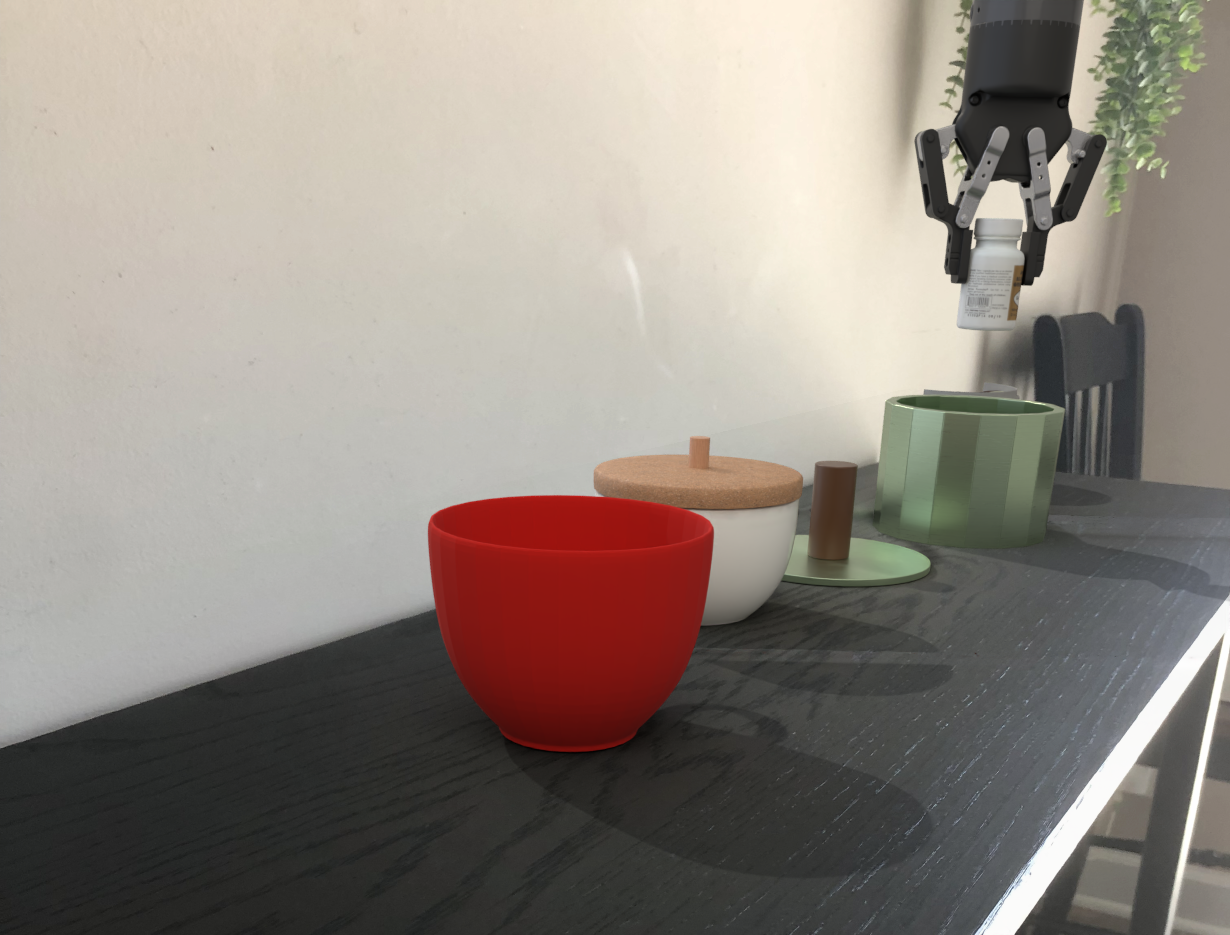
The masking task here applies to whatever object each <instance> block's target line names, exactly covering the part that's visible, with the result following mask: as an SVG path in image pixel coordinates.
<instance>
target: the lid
mask: <svg viewBox="0 0 1230 935" xmlns="http://www.w3.org/2000/svg"><path fill="white" fill-rule="evenodd" d="M858 470H859V464H857V463H855V462H851V461H843V460H820V461H816V462H815V463H814V470H813V481H812V482H813V483H812V492H811V493H812V494H811V495H812V496H811V504H810V505H811V506H810V518H809V528H808V534H796V535H795V540H794V545H793V549H792V554H791V557H790V560H789V563H788V566H787V569H786V572H785V574H784V576H783V578H782V580H781V582H788V583H796V584H803V585H814V586H825V587H844V588H845V587H851V588H853V587H855V588H857V587H858V588H861V587H881V586H892V585H900V584H906V583H910V582H914V581H917V580H920V579H922V578H924V577H926V576H927V575H928V574H929V573H930V571H931V567H932V566H931V565H932V563H931V560H930V559H929V558H928V557H927V556H926V555H925V554H922V553H921V552H919V551H916V550H914V549H912V548H908V547H905V546H903V545H898V544H894V543H890V542H884V541H881V540H880V541H879V540H873V539H867V538H860V537H859V538H858V537H852V531H853V530H852V529H853V520H854V509H855V500H856V499H855V498H856V488H857V479H858Z"/></svg>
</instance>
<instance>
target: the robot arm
mask: <svg viewBox="0 0 1230 935" xmlns="http://www.w3.org/2000/svg"><path fill="white" fill-rule="evenodd" d="M1084 2H1085V0H972V2H971V5H970V9H969V22H970V24H969V33H968V41H967V48H966V58H965V67H964V75H963V84H962V93H961V94H962V95H961V103H960V107H959V109H958V112H957V114H956V115H955V117H954V118H953V121H952V123H951V124H950V125H946V126H944V127H939V128H935V129H934V128H928V129H924V130H921V131H919V132H918V133H917V134H916V135H915V137H914V142H913V143H914V149H915V154H916V155H915V156H916V161H917V166H918V167H917V168H918V173H919V174H918V175H919V180H920V186H921V193H922V199H923V207H924V213H925V215H926V216H927V217H928V218H930V219H933V220H936V221H938V222H940V223H943V225H944V226H946V229H947V237H946V247H945V256H944V264H943V269H944V273H945V275H948V276H949V275H950V283H951V284H956V285H957V284H958V285H961V284H965V283H966V282H967V277H968V269H969V261H970V252H971V249H972V243H973V237H974V229H970V228H971V225H972V222H973V220H974V217H975V216H976V213H977V211H978V208H979V205H980V203H981V201H982V199H983V197H984V196H985V194H986V192H987V190H988V188H989V185H990V183H991V182H992V183H993V182H999V181H1005V182H1009V183H1013V184H1014V183H1017V185H1018V190H1019V195H1020V196H1019V197H1020V198H1021V200H1022V202H1023V209H1024V216H1025V217H1024V218H1025V223H1026V231H1022V235H1021V240H1020V247H1019V250H1020V251H1022V252H1023V254H1024V257H1025V260H1024V269H1023V276H1022V282H1021V287H1022V286H1023V287H1024V286H1025V287H1028V286H1029V287H1032V286H1033V284H1034V282H1035V278H1041V275H1042V273H1043V271H1044V267H1045V260H1046V259H1045V258H1046V252H1047V245H1048V238H1049V234H1050V231H1051V230H1052V229H1053V228H1054V227H1056V226H1059V225H1062V224H1065V223H1070V222H1073V221H1075V220H1076V219H1077V217H1078V215H1079V213H1080V210H1081V208H1082V205H1083V204H1084V201H1085V198H1086V196H1087V193H1088V192H1089V188H1090V186H1091V184H1092V181H1093V179H1094V176H1095V174H1096V172H1097V170H1098V168H1099V165H1100V163H1101V160H1102V157H1103V155H1104V153H1105V150H1106V148H1107V145H1108V139H1107V137H1106V136H1105V135H1104V134H1101V133H1099V134H1091V133H1088V132H1086V131H1083V130H1080V129H1077V128H1075V127H1073V120H1072V118H1071V114H1070V109H1069V105H1070V101H1071V100H1070V99H1071V94H1072V88H1073V80H1074V73H1075V65H1076V59H1077V53H1078V44H1079V38H1080V31H1081V23H1082V16H1083V9H1084ZM953 141H954V143H955V144H956V146H957V147H958V150H959V151H960V154H961V155H962V157H963V160H964V161H965V163H966V167H965V170H964V173H963V174H962V177H961V180H960V182H959V185H958V188H957V195H956V197H955V199H954V201H953V204H952V203H950V201H949V195H948V188H947V187H948V186H947V181H946V174H945V173H946V172H945V168H944V167H945V166H944V160H945V159H946V158H948V157H949V154H950V148H951V144H952V142H953ZM1065 145H1066V147H1067V153H1066V160H1067V163H1069V164H1070V166H1069V168H1068V170H1067V172H1066V175H1065V177H1064V180H1063V182H1062V184H1061V187H1060V189H1059V192H1058V195H1057V197H1056V200H1055V201H1054V204H1053V206H1052V202H1051V192H1052V187H1051V186H1052V184H1051V178H1050V172H1049V166H1048V165H1049V164H1050V163H1051V162H1052V160H1053V159H1054V158H1055V156H1056V155H1057V154H1058V153H1059V151H1060V150H1061V149H1062V148H1063V146H1065Z"/></svg>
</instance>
